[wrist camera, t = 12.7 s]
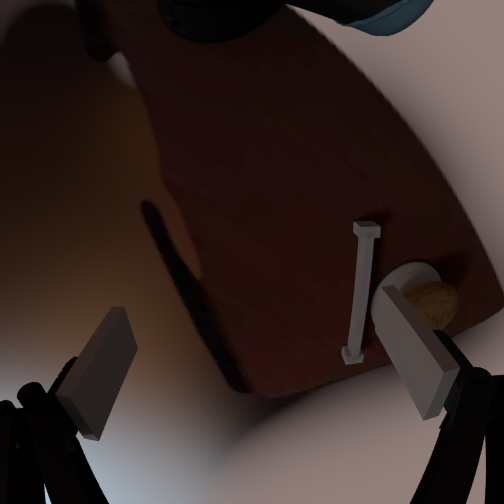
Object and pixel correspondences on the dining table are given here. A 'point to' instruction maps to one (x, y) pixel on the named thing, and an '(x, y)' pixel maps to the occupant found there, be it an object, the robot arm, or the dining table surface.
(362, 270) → the rail
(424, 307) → the potato
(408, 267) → the plate
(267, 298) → the dining table surface
